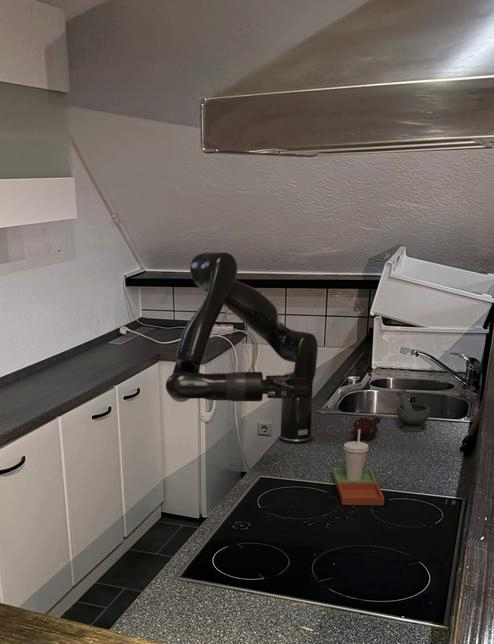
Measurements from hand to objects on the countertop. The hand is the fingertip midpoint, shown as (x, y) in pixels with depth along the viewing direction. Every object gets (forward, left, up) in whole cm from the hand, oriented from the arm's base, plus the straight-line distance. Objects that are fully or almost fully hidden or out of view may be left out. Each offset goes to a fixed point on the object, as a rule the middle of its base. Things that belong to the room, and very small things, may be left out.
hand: (307, 386), depth 195 cm
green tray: (0, +13, -26) cm, 29 cm away
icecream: (-35, +21, -26) cm, 49 cm away
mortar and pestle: (-46, +37, -26) cm, 65 cm away
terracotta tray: (+11, +13, -26) cm, 31 cm away
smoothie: (0, +13, -26) cm, 29 cm away
